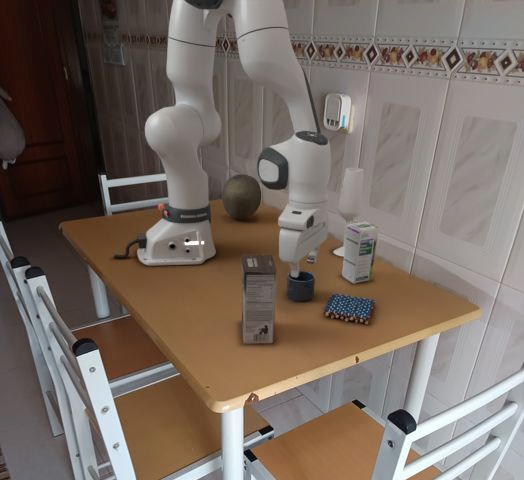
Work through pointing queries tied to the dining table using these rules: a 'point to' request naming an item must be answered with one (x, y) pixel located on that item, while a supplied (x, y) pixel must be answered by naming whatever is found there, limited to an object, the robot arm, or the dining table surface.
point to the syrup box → (359, 251)
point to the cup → (300, 286)
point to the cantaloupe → (241, 196)
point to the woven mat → (350, 308)
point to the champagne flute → (350, 199)
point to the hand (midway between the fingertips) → (303, 269)
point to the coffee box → (258, 298)
